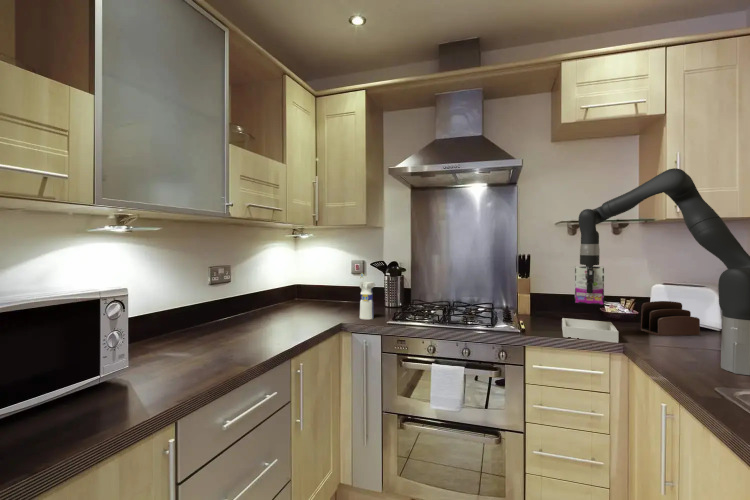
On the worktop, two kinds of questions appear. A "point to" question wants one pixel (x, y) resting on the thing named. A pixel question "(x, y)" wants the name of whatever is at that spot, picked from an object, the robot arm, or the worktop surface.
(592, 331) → the tray
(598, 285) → the candy bar box
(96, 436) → the worktop surface
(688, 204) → the robot arm
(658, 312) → the letter holder
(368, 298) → the white spray bottle
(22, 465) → the worktop surface
